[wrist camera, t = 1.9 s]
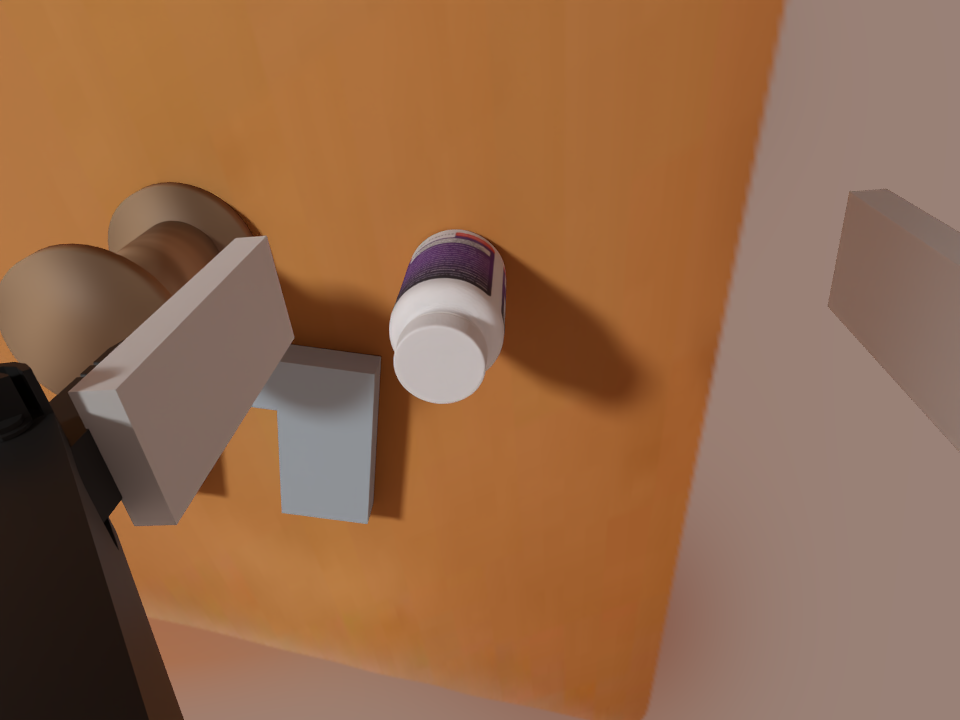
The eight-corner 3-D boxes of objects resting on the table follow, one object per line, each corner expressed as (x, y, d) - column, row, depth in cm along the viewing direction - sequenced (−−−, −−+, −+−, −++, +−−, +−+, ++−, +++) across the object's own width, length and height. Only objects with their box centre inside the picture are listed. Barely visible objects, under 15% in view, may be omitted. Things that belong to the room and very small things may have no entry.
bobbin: (128, 308, 38) (21, 401, 30) (104, 172, 34) (-28, 238, 26) (263, 326, 38) (194, 424, 30) (256, 193, 34) (173, 265, 26)
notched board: (114, 469, 45) (97, 488, 43) (80, 316, 39) (59, 332, 37) (373, 502, 45) (367, 523, 44) (381, 356, 39) (374, 374, 37)
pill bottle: (390, 258, 36) (350, 347, 28) (472, 208, 34) (456, 286, 26) (445, 332, 38) (424, 435, 30) (525, 289, 36) (526, 385, 28)
